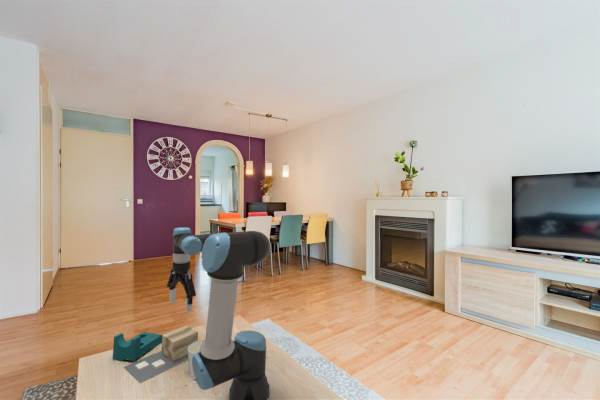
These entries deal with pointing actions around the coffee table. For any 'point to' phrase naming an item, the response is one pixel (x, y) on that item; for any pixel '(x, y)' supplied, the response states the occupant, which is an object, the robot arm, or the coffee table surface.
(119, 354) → the teal l-shaped bracket
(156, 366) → the cream flat square
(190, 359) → the candle holder
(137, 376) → the board
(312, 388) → the coffee table surface
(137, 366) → the white square tile
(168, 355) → the block
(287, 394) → the coffee table surface
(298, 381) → the coffee table surface
